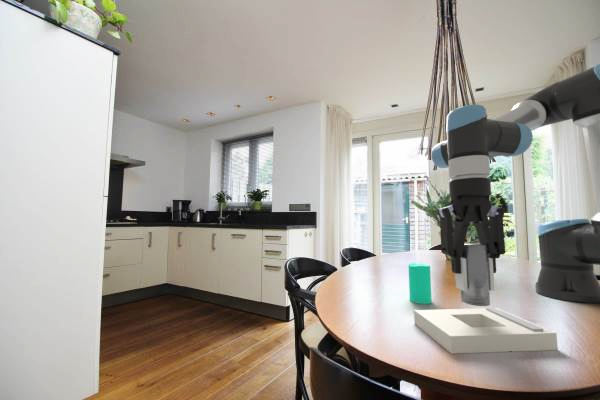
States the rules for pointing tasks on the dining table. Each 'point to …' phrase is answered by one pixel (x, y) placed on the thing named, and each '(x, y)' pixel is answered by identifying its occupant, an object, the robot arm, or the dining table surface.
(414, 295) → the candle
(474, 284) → the tall grey prism
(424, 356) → the dining table surface
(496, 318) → the jig
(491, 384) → the dining table surface
